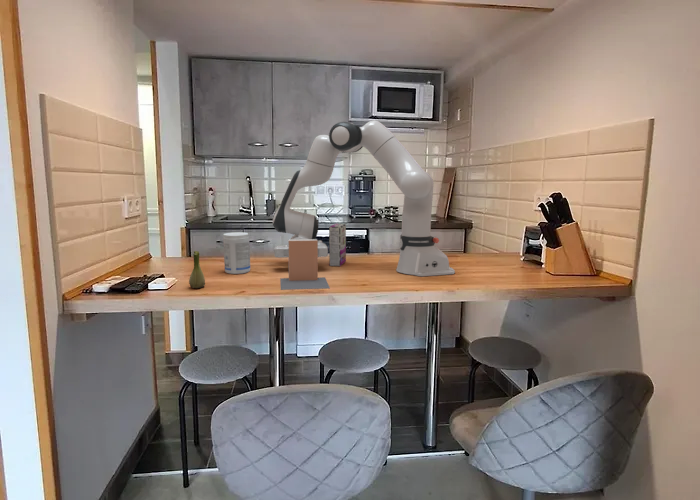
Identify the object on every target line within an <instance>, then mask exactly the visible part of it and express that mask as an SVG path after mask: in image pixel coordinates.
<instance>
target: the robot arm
mask: <svg viewBox="0 0 700 500" xmlns="http://www.w3.org/2000/svg"><path fill="white" fill-rule="evenodd" d="M363 148H365V149H366V150H367V151H368V152H369V153H370V154H371V155H372V156H373V158H374V159H375V160H376V161H377V163H379V165H380V166H381V167H382V168H383V169H384V170H385V172H386V173H387V175H388V176H389V177H390V179H392V181H393V182H394V184H395V185H396V186H397V188H398V189H399V190H400V191H401V193H402V194H403V195H404V196H403V198H404V199H403V205H402V206H403V207H402V213H401V234H400V236H399V237H400V238H399V249H400V251H399V252H400V253H399V257H398V258H399V259H398V263H397V267H396V269H395V271H396V272H398V273H400V274H405V275H412V276H416V277H431V276H445V275H454V274H455V273H456V270H455V269H454V268H453V267H452V266H451V267H450V262H449V258H448V255H447V254H446V253H444V252H443V251H442V250H441V249H439V248H438V247H437V246H436V245H435V244H439V243H440V239H439V238H438V237H434V236H432V235H431V231H432V230H431V225H432V210H433V198H434V197H433V196H434V179H433V177H432V176H431V174H430V173H428V171H425V170H424V169H423V168H422V166H421V165H420V164H419V163H418V162H417V161H416V159H415V158H414V157H413V155H411V153H410V152H409V150H407V148H406V147H405V146H404V144H402V142H400V141H399V139H398V138H397V137H396V135H395V134H394V133H392V131H390V129H389V128H388V127H386V126H385V125H384V124H383V123H381V122H380V121H379V120H374V119H373V120H370V121H367V122H366V123H365V124H364V125H363V126H360V125H357V124H354V123H352V122H348V121H339V122H337V123H335V124H334V125H332V127H331V128H330V130H329V133H328V134H319V135H317V136H316V137H315V138H314V139H313V142H312V144H311V147H310V149H309V152H308V155H307V158H306V162H305V164H304V165H303V167H302V168H301V169H299V170H297V171H296V172H295V173H294V174H293V176H292V177H291V180H290V182H289V184H288V187H287V189H286V191H285V193H284V195H283V197H282V200H281V203H280V205H279V206H278V208H277V210H276V211H275V213H274V216H273V218H272V226H273V228H274V229H275V230H276V231H277V232H278V233H283V234H290V235H292V236H291V238H290V239H317V236H318V234H319V233H318V232H319V220H318V218H317V216H315V215H314V214H310V213H306V212H303V211H302V212H301V211H297V210H293V209H291V206H292V204H293V201H294V198H295V197H296V194H297V193H298V191H299V190H301V189H303V188H306V187H307V188H308V187H316V186H321V185H324V184H326V183H328V181H329V180H330V179H331V177H332V174H333V172H334V169H335V164H336V160H337V158H338V156H339V155H340V154H341V153H342V154H343V153H344V154H345V153H346V154H347V153H356V152H358V151H361V150H362V149H363ZM317 240H318V258H322V257H325V258H326V257H329V256H328V255H329V246H328V245H327V244H326V243H324V242H323V240H319V239H317ZM273 253H274V257H275V258H289V249H288V245H286V244H285V245H283V244H282V245H276V246H275V247H274V248H273Z"/></svg>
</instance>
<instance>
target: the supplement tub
mask: <svg viewBox="0 0 700 500" xmlns="http://www.w3.org/2000/svg"><path fill="white" fill-rule="evenodd" d="M222 239H223V240H222V241H223V242H222V243H223V261H224V262H223V264H224V272H225V273H226V274H229V275H239V274H241V275H242V274H247V273H249V272H250V271H251V251H250V248H251V247H250V246H251V245H250V236H249V233H248V232H246V231H245V232H244V231H243V232H242V231H239V232H238V231H237V232H233V231H232V232H225V233H223V237H222Z"/></svg>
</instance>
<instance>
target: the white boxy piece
mask: <svg viewBox="0 0 700 500" xmlns="http://www.w3.org/2000/svg"><path fill="white" fill-rule="evenodd" d="M318 240H319V239H317V238H316V239H291V238H289V239H288V240H287V241H288V249H289V257H288V278H289V281H296V280H318V278H319V276H318V274H319V272H318V270H319V269H318V266H319V265H318V264H319V263H318V260H319V259H318V258H319V257H318Z"/></svg>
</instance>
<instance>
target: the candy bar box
mask: <svg viewBox="0 0 700 500" xmlns="http://www.w3.org/2000/svg"><path fill="white" fill-rule="evenodd" d="M328 229H329V232H328V235H329V236H328V241H329V244H328V245H329V246H328V255H329V256H328V258H329V262H328V263H329V267H341V266H342V265H343V264H345V263H346V261H347V248H346V247H347V243H346V241H347V235H346V234H347V224H346V223H334V224H332V225H330V226H329V227H328Z"/></svg>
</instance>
